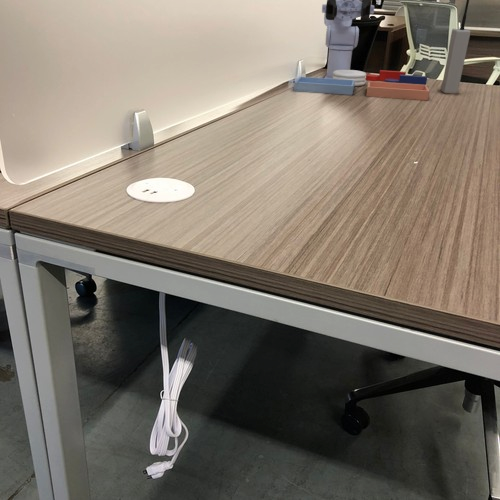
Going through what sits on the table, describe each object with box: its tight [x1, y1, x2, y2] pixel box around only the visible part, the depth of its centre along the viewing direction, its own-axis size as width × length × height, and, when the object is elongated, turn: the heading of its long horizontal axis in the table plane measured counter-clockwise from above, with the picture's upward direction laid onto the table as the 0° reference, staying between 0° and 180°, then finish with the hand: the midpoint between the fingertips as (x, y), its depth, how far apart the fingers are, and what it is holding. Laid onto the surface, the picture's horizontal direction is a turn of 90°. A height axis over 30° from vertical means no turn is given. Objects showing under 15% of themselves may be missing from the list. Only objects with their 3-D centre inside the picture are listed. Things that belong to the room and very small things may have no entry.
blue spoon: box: [384, 74, 428, 85], centre depth 154 cm, size 12×4×3 cm, turn 77°
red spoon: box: [365, 69, 407, 82], centre depth 161 cm, size 12×4×3 cm, turn 77°
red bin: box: [366, 80, 430, 101], centre depth 140 cm, size 10×16×2 cm, turn 77°
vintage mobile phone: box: [439, 0, 471, 95], centre depth 141 cm, size 4×5×25 cm
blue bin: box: [293, 76, 355, 96], centre depth 144 cm, size 10×16×2 cm, turn 77°
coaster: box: [333, 69, 367, 87], centre depth 154 cm, size 10×10×4 cm
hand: (349, 11), depth 136 cm, fingers open, 7 cm apart
